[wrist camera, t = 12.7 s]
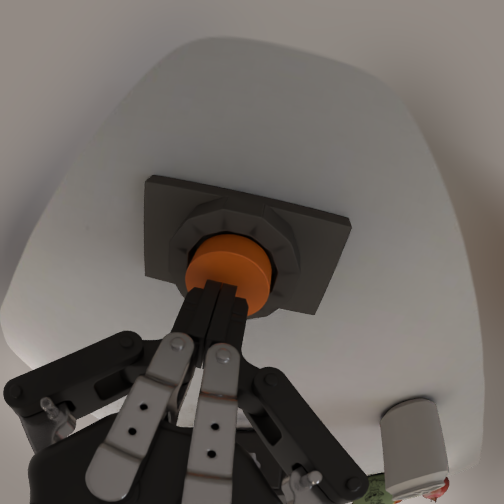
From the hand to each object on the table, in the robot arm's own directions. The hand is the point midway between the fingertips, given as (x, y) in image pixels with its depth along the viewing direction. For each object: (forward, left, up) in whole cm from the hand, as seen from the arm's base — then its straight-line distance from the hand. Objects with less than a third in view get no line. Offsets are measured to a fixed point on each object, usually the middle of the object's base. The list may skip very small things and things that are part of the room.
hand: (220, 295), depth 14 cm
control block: (0, 0, -5) cm, 5 cm away
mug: (+41, -57, -5) cm, 71 cm away
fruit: (+72, -67, -5) cm, 99 cm away
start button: (0, 0, -2) cm, 2 cm away
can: (+24, -18, -5) cm, 31 cm away
